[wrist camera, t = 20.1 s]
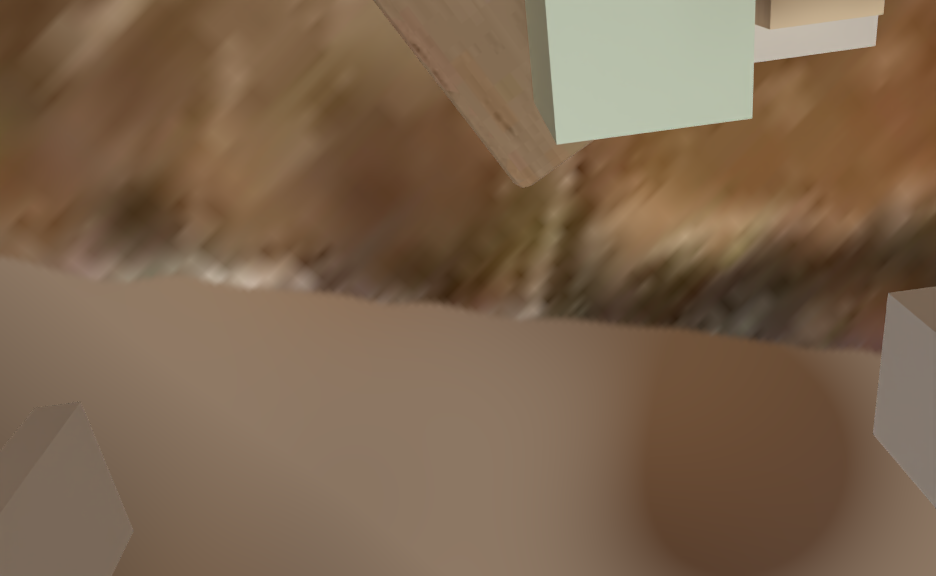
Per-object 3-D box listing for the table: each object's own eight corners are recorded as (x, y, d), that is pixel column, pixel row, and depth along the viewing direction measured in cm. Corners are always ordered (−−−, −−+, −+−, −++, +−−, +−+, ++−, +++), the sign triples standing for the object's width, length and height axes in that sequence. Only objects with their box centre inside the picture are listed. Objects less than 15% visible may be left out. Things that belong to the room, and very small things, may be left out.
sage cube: (518, -72, 27) (539, -69, 22) (692, -96, 27) (758, -99, 22) (534, 102, 30) (556, 144, 24) (693, 81, 30) (752, 118, 24)
